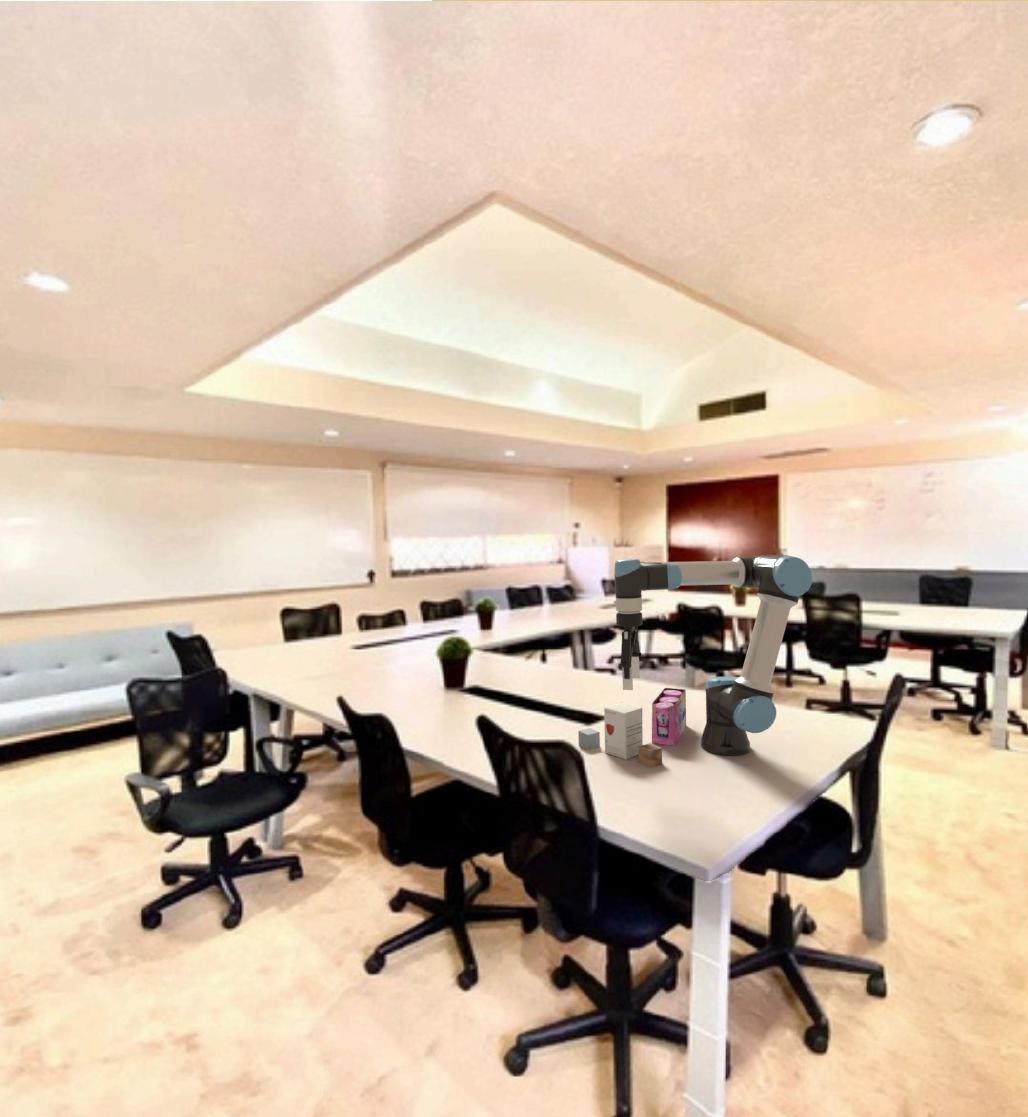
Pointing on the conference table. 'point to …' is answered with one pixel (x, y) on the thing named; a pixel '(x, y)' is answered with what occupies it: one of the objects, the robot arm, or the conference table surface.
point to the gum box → (668, 716)
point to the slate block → (589, 738)
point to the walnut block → (650, 755)
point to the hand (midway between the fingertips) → (631, 683)
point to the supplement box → (623, 730)
